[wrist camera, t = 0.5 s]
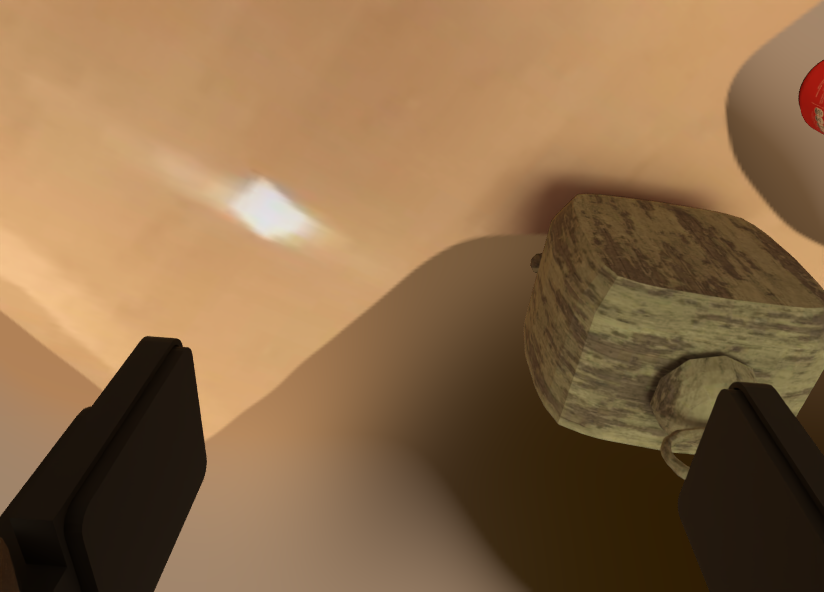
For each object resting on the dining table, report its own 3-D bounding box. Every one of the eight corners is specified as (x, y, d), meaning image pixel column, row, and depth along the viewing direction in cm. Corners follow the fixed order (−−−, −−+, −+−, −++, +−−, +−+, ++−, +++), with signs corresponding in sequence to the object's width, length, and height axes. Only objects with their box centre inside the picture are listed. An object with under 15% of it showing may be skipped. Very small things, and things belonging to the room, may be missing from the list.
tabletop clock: (510, 274, 49) (560, 548, 28) (537, 163, 45) (624, 385, 23) (692, 301, 50) (883, 590, 28) (738, 192, 45) (1008, 438, 23)
